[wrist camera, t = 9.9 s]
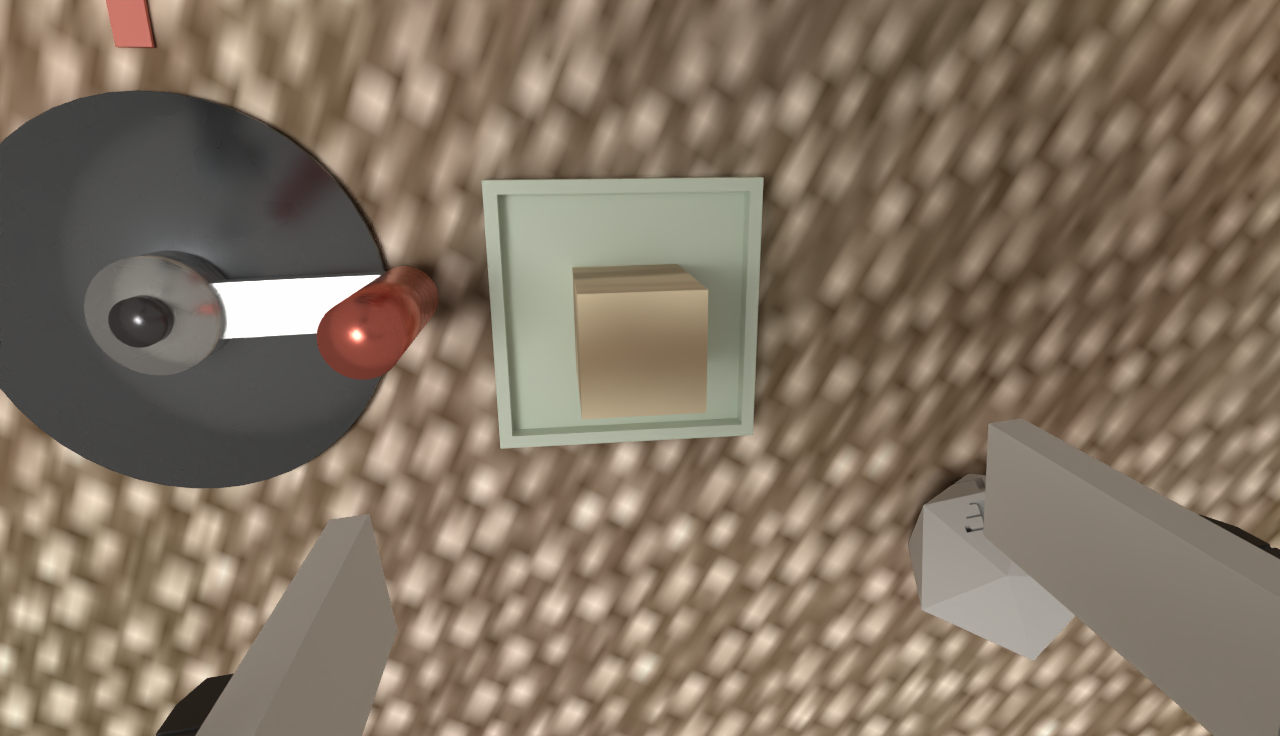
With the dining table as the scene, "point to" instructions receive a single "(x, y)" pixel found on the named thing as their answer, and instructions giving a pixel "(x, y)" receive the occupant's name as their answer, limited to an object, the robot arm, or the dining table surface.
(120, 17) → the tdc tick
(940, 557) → the die
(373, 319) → the crank
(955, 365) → the dining table surface
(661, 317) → the block
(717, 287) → the tray
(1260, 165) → the dining table surface
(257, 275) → the base plate
